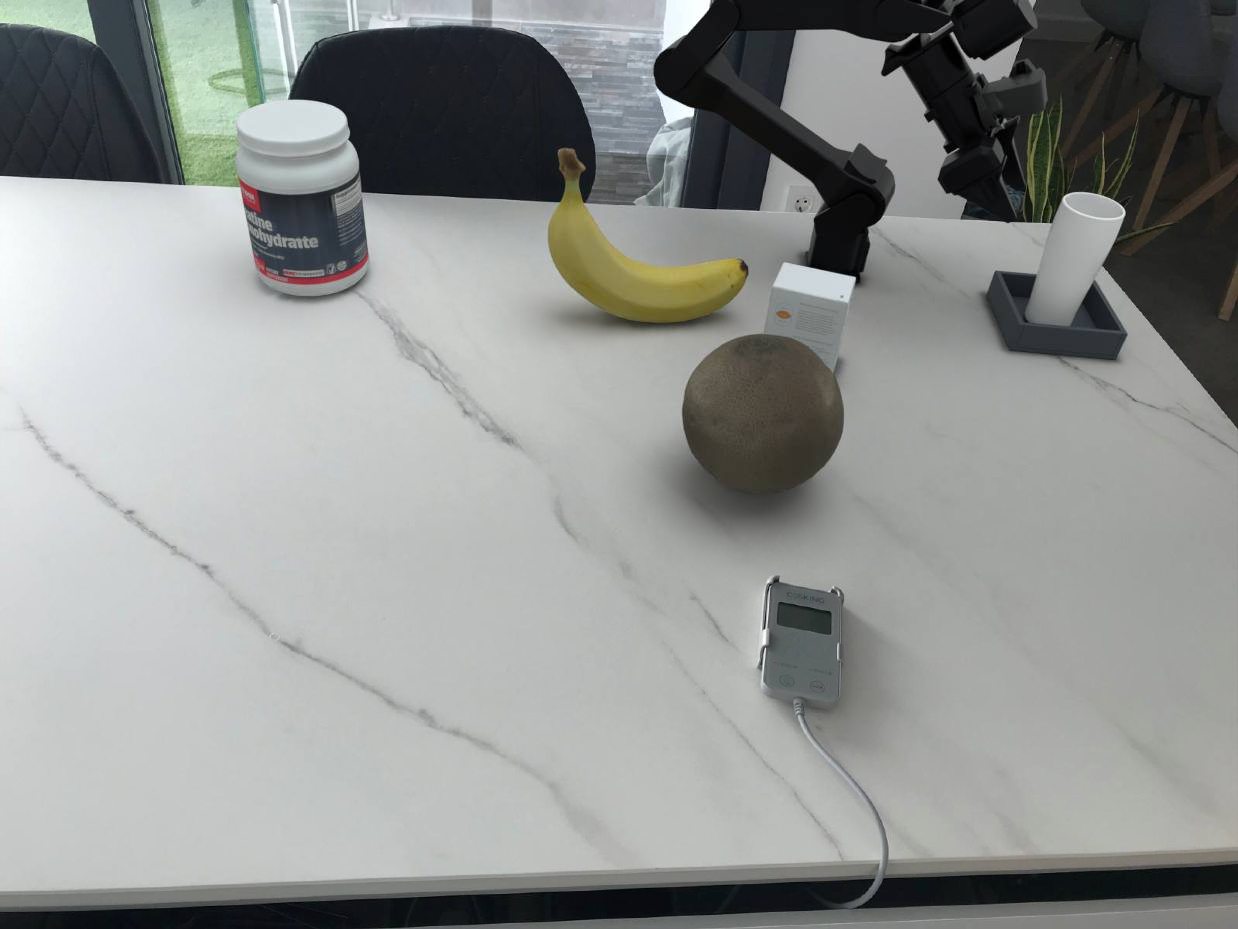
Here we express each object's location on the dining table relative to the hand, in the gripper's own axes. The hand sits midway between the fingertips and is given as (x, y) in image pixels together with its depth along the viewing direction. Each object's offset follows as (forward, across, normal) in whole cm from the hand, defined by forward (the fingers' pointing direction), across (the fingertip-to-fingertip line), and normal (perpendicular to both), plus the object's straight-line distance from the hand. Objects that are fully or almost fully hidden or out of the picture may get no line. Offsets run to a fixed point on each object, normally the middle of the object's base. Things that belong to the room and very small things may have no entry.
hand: (1017, 204), depth 110 cm
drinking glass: (+15, 0, +4) cm, 15 cm away
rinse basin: (+15, 0, +4) cm, 16 cm away
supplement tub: (-42, -32, +61) cm, 81 cm away
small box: (-2, -23, +22) cm, 31 cm away
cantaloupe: (-1, -44, +21) cm, 48 cm away
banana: (-15, -22, +34) cm, 44 cm away
